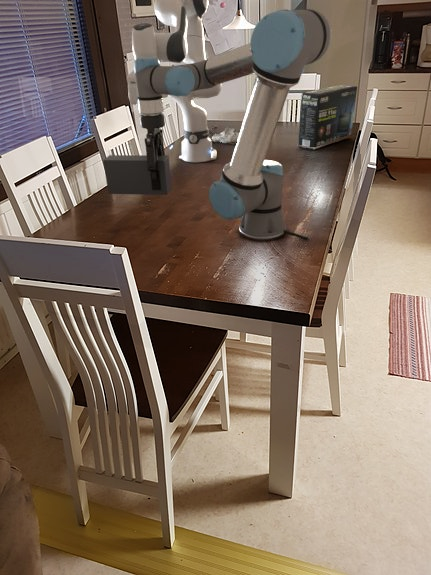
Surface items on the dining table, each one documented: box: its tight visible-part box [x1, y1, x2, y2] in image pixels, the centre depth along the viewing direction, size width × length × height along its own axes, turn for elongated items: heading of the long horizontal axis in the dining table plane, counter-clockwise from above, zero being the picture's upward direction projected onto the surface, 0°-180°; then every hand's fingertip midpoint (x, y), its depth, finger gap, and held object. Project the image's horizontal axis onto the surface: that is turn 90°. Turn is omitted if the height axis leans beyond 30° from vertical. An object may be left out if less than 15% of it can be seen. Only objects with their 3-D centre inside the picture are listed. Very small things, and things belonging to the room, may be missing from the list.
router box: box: [297, 84, 358, 151], centre depth 238 cm, size 36×11×27 cm, turn 134°
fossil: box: [211, 127, 241, 146], centre depth 254 cm, size 18×11×15 cm
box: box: [102, 154, 172, 196], centre depth 152 cm, size 20×6×11 cm, turn 82°
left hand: (151, 113), depth 177 cm, fingers open, 8 cm apart
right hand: (159, 186), depth 153 cm, fingers closed on box, 6 cm apart
